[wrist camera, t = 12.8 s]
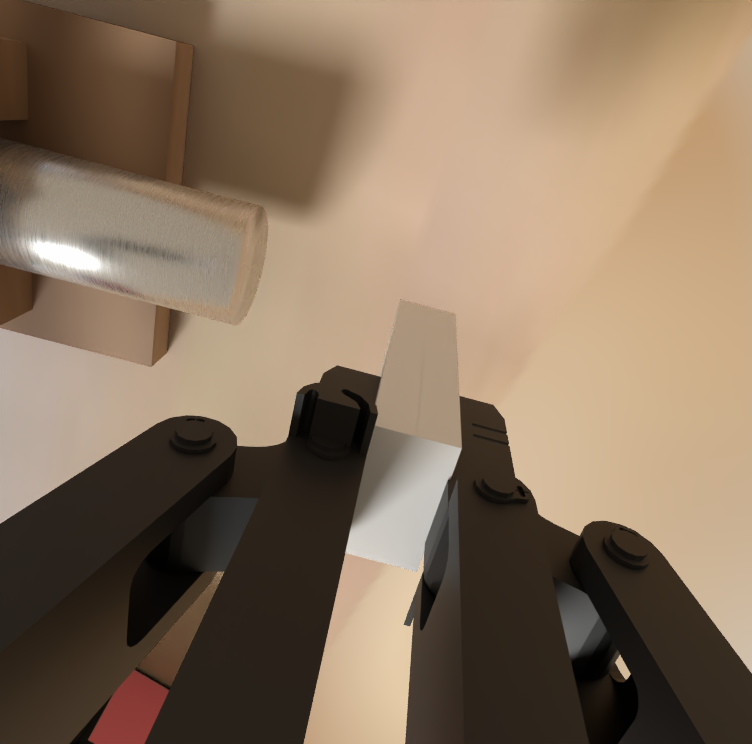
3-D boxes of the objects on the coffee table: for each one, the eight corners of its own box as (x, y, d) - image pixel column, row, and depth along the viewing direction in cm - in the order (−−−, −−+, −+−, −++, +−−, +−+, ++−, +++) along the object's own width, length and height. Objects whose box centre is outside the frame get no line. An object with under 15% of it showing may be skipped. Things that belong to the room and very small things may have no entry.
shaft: (274, 197, 20) (238, 217, 17) (257, 303, 22) (221, 342, 18) (-62, 109, 20) (-172, 110, 16) (-52, 223, 22) (-150, 246, 18)
